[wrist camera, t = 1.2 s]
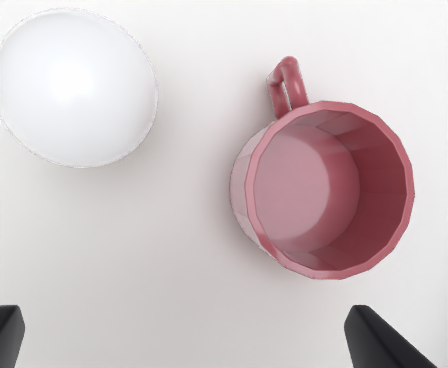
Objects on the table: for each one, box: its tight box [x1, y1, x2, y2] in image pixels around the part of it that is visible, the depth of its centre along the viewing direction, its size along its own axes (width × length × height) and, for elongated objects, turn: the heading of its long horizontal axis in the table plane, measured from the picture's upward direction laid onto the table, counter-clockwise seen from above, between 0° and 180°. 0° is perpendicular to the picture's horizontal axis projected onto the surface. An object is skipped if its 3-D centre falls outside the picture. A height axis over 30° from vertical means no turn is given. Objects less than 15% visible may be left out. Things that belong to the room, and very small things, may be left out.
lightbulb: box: [0, 8, 158, 168], centre depth 17 cm, size 6×6×11 cm
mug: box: [230, 56, 415, 280], centre depth 21 cm, size 13×10×6 cm
